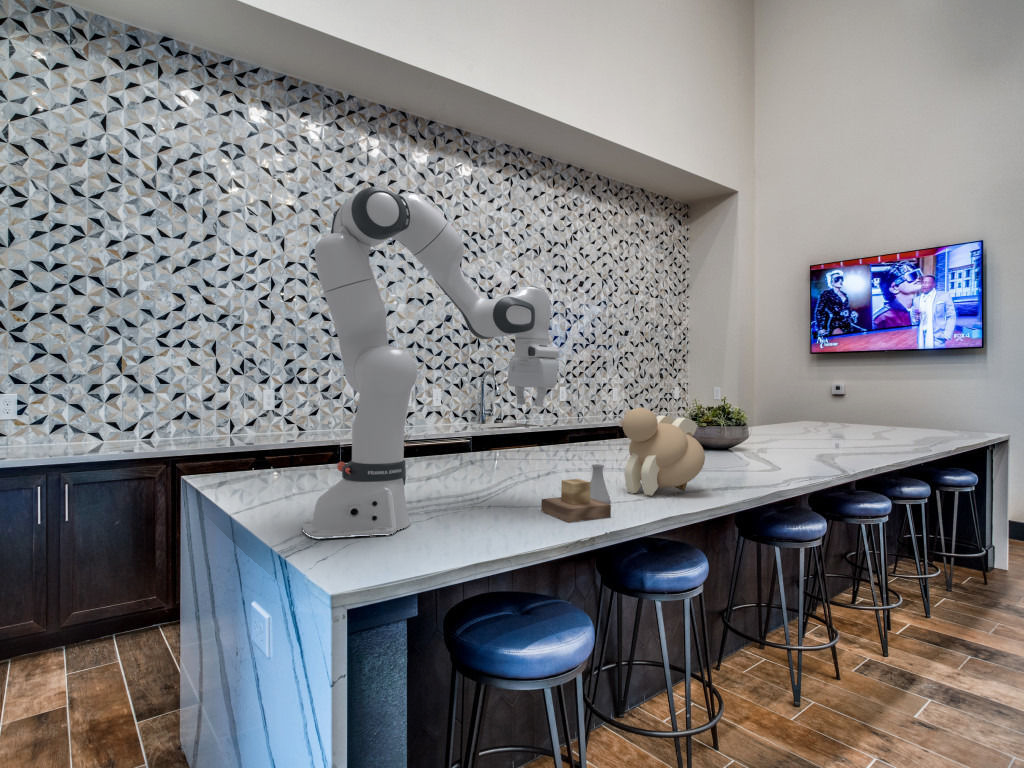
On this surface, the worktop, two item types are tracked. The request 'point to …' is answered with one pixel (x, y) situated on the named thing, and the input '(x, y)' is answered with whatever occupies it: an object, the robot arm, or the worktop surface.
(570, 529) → the worktop surface
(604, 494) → the flask
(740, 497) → the worktop surface
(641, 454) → the tan rounded figure
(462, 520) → the worktop surface
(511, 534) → the worktop surface
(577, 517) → the walnut base
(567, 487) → the oak cube
